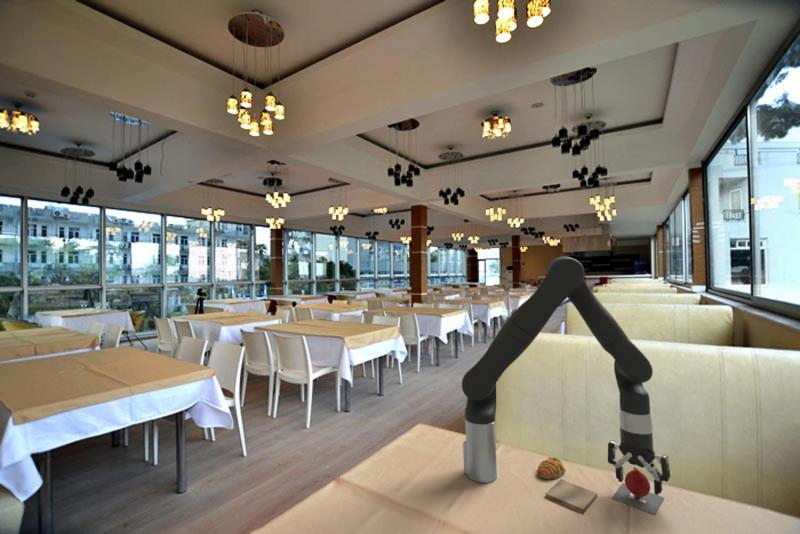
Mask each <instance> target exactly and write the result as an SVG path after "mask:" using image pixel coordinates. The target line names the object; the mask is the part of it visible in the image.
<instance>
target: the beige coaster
mask: <svg viewBox="0 0 800 534" xmlns="http://www.w3.org/2000/svg"><path fill="white" fill-rule="evenodd" d="M545 498H547V499H550V500H551V501H553V502H556V503H559V504H561V505H563V506H566V507H568V508H570V509H573V510H574V511H577V512H579V513H582V514H584V513H585V512H586V511H587V510H588V509H589V507H590V506H591V505H592V504H593V503H594V501H595V500H596V499H597V498H598V493H597V492H596V491H593V490H590V489H587V488H585V487H583V486H580V485H577V484H574V483H572V482H569V481H567V480H564V479H559V480H558V481H557V482H556V483H555V484H554V485H553V486H552V487H551V488H550V489H549V490H547V491H546V493H545Z"/></svg>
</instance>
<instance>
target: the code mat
mask: <svg viewBox="0 0 800 534" xmlns="http://www.w3.org/2000/svg"><path fill="white" fill-rule="evenodd" d="M621 483H622V484H621V485H620V486H619V488H617V490H616V491H615V492H614V494H613V495H612V496H611V499H613V500H615V501H618V502H620V503H623V504H625V505H628V506H629V507H633V508H636V509H638V510H641V511H643V512H646V513H649V514H651V515H653V516H656V514H657V512H658V511H659V509H660V507H661V506H662V505H661V504H662V503H663V501H664V499H665V497H664V496H660V495H659V494H658V495H656V494H655V493H653V492H651V491H649V493H648V494H647V495H646V496H644V497H640V498H637V497H635V496H634V495H633V494H632V493H631V492H630V491H629V490H628V489H627V487H626V485H625V482H621Z"/></svg>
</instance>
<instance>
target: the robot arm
mask: <svg viewBox="0 0 800 534" xmlns="http://www.w3.org/2000/svg"><path fill="white" fill-rule="evenodd" d="M567 298H568V300H569V301H570V302H571V303H572V304H573V306H574V308H575V309H576V311H577V312H578V313H579V314H580V317H581V318H582V320H583V321H584V323H585V325H586V326H587V328H588V329H589V331H590V332H591V333H592V335H593V336H594V338H595V339H596V341H597V342H598V343H599V345H600V346H601V347H602V349H603V351H604V350H605V352H606V353H607V354H609V355H610V356H611V357H612V358H613V359H614V364H613V368H614V369H613V371H614V375H615V380H616V384H617V388H618V393H619V432H620V433H619V438H620V443H617V442H616V441H615V440H613V439H611V441H609V442H608V443H607V463H608V464H610V465H612V466H614V468H615V478H616V480H618V482H620V483H623V481H624V480H625V477H624V466H623V465H624V464H626V463H627V462H628V463H629V465H633V466H638V467H640V468H643V469H644V468H645V469H646V470H647V472H648V473H649V474H651V476H652V477H653V478H654V479H653V489H654V493H653V494H656V495H659V494H662V491H663V482H666V483H667V482H669V481H670V478H671V469H670V462H669V457H668V455H667V454H657V453H655V450H654V441H653V440H654V438H653V423H652V422H653V420H652V416H651V402H650V395H649V393H648V392H647V390H646V389H645V387H644V385H643V383H644V384H645V383H647V382H648V381H650V380H651V379H652V376H653V373H654V371H653V366H652V364H651V362H650V361H649V359H648V358H647V356H646V355H645V354H644V353H643V352H642V351H641V350H640V349H639V348H638V347H637V346H636V345H635V344H634V343H633V342H632V341H631V340H630V339H629V338H628V335H627V334H626V332H625V331H624V330H623V328H622V327H621V326H620V325H619V323H618V322H617V320H616V319H615V318H614V316H613V315H612V314H611V313H610V312H609V310H608V309H606V307H605V306H604V305H603V304H602V303H601V301H600V300H599V299H598V298H597V296H596V295H595V294H594V292H592V290H591V288H590V287H589V286H588V283H587V281H586V280H585V268H584V266H583V263H581V262H580V261H578V260H577V259H575V258H573V257H569V256H565V255H564V256H558V257H555V258H554V259H552V260H551V261H550V262H549V264H548V265H547V269H546V275H545V277H544V279H543V280H542V281H541V283H540V285H539V286H538V287H537V289H536V290H535V292H534V293H533V294H532V295H531V296H530V297H528V299H526V300H525V301H524V302H523V303H521V305H519V307H517V308H516V309H515V311H513V313H512V314H511V315H510V316H509V317H508V318H507V320H506V321H505V322H504V324H503V325H502V326H501V328H500V329H499V331H498V332H497V333H496V335H495V336H494V338H493V340H492V342H491V343H490V345H489V346H488V348H487V350H486V352H485V353H484V354H483V355H482V356H481V358H480V359H479V360H478V361H477V362H476V363H475V364H474V365H473V366H472V367H471V368H469V370H467V372H466V373H464V375H463V378H462V379H461V380H462V381H461V389H462V392H463V394H464V395H465V397H466V398H467V399H466V406H465V409H464V419H465V420H464V423H465V424H464V425H465V427H464V429H465V441H463V443H462V445H463V446H462V448H463V449H462V450H463V451H462V452H463V473H464V474H466V476H467V478H468V479H469V480H471V481H474V482H477V483H484V484H486V483H487V484H488V483H491V482H494V481H496V479H497V478H498V469H497V436H496V435H497V433H496V431H497V430H496V429H497V428H496V427H497V426H496V425H497V424H496V412H497V411H496V410H497V382H498V381H499V379H500V378H501V376H502V374H503V373H504V372H505V371H506V370H507V369H508V368H509V367H510V366H511V365H512V364H513V363H514V362H515V361H516V360H518V358H520V356H521V355H523V353H524V352H525V351H526V350H527V349H528V348H529V347H530V345H531V344H532V343H533V342H534V340H535V339H536V338H537V337H538V335H539V334H540V333H541V331H542V330H543V329H544V328H545V326H546V324H547V323H548V321H549V320H550V318H551V317H552V316H553V314H554V313H555V311H557V309H558V308H559V307H560V306H561V305H562V303H563V302H565V300H566V299H567ZM618 449H619V451H620V453H621V454H622V455H623V456H621V458H619V459H616V451H617V450H618ZM654 460H657V462H658V464H660V466H661V467H660V468H661V472H660V470H659V469H658V467H657V465H656V464H655V462H654Z"/></svg>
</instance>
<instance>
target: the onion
mask: <svg viewBox="0 0 800 534" xmlns="http://www.w3.org/2000/svg"><path fill="white" fill-rule="evenodd" d="M624 484H625V485H626V487H627V489H628V490H629V491H630V492H631V493H632V494H633V495H634V496H635V497H637V498H640V497H644V496H646V495H647V494H648V493H649V492H651V484H650V481H649V479H648V478H647V476H646V475H645V474H644V473H643V472H641V471H640V469H638V468H637V467H635V466H634V467H633V470H630V471H629V472H627V473H626V475H625V477H624Z"/></svg>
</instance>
